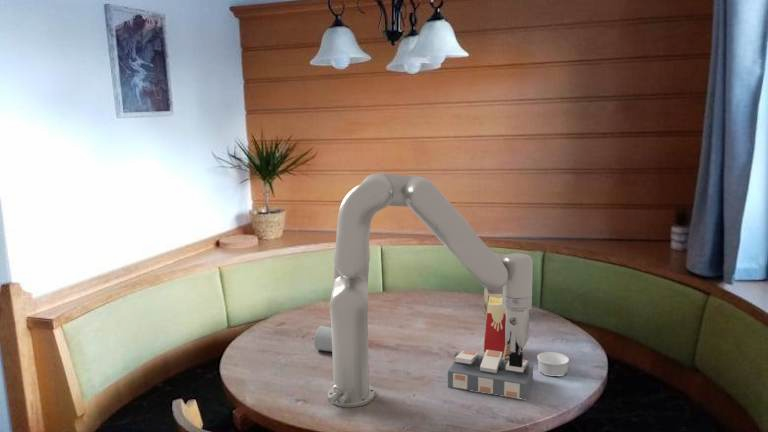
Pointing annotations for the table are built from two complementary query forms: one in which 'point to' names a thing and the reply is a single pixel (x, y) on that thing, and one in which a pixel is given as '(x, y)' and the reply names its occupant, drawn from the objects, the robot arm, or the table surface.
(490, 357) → the block
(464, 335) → the table surface
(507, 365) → the rocker
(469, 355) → the rocker
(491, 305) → the milk carton
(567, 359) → the ramekin
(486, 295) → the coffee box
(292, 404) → the table surface
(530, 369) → the switch unit
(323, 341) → the ceramic mug
